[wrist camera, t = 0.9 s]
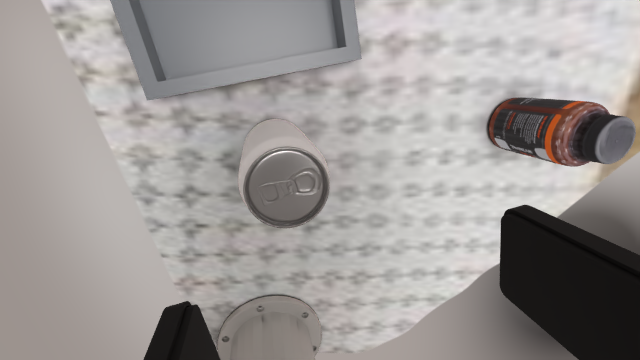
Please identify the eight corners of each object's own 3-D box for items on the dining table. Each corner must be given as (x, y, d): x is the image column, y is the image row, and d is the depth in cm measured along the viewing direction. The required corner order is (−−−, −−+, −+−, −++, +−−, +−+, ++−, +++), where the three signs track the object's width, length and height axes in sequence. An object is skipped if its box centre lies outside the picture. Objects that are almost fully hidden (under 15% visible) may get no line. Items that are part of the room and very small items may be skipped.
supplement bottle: (488, 155, 36) (585, 186, 26) (482, 107, 34) (584, 119, 23) (532, 138, 37) (644, 161, 26) (529, 89, 34) (649, 93, 24)
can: (313, 170, 32) (344, 217, 21) (254, 187, 32) (254, 246, 20) (298, 110, 30) (323, 127, 19) (234, 128, 29) (221, 156, 18)
